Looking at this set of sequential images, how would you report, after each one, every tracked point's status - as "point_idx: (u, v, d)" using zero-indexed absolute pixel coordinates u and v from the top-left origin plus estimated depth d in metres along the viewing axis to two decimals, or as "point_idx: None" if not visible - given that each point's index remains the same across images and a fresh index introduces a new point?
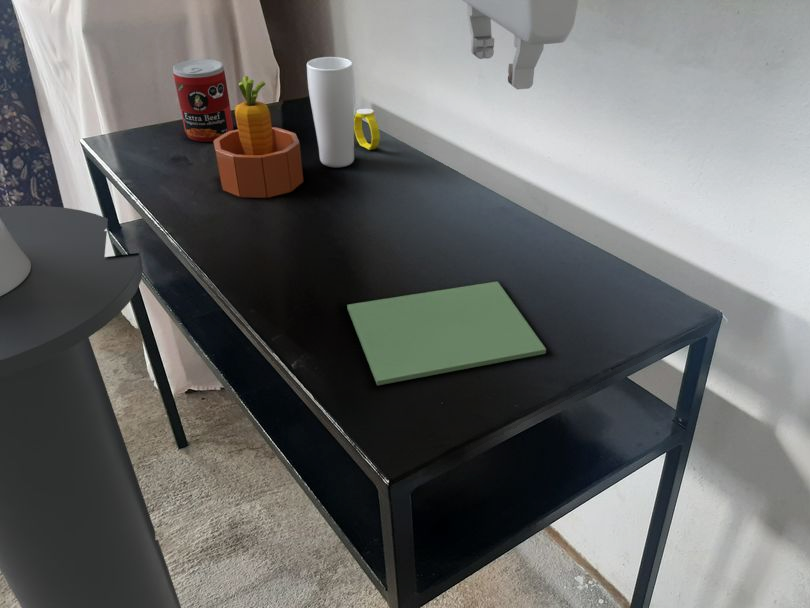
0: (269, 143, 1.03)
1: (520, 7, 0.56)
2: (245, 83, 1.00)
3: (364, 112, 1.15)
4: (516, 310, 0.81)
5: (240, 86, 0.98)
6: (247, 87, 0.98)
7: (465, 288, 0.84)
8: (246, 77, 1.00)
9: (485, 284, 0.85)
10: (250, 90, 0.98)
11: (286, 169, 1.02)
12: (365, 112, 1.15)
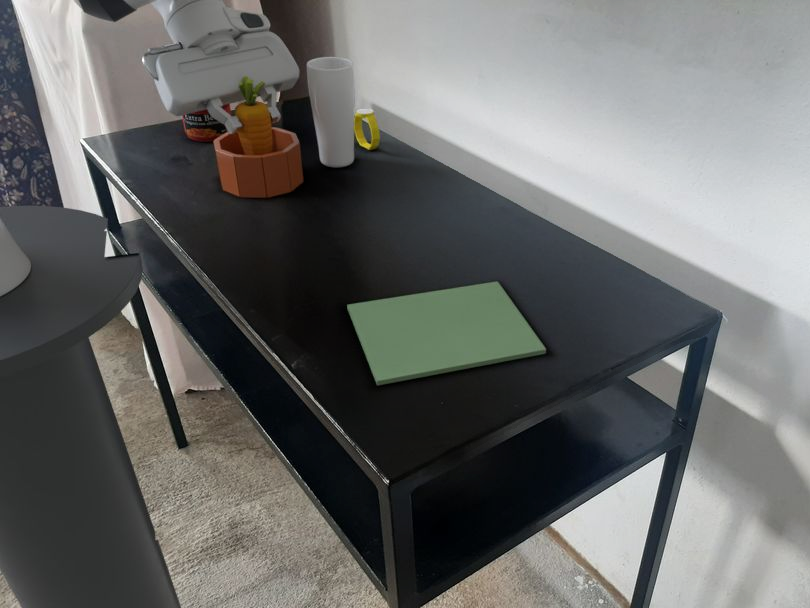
0: (269, 143, 1.03)
1: (282, 63, 1.05)
2: (245, 83, 1.00)
3: (364, 112, 1.15)
4: (516, 310, 0.81)
5: (240, 86, 0.98)
6: (247, 87, 0.98)
7: (465, 288, 0.84)
8: (246, 77, 1.00)
9: (485, 284, 0.85)
10: (250, 90, 0.98)
11: (286, 169, 1.02)
12: (365, 112, 1.15)
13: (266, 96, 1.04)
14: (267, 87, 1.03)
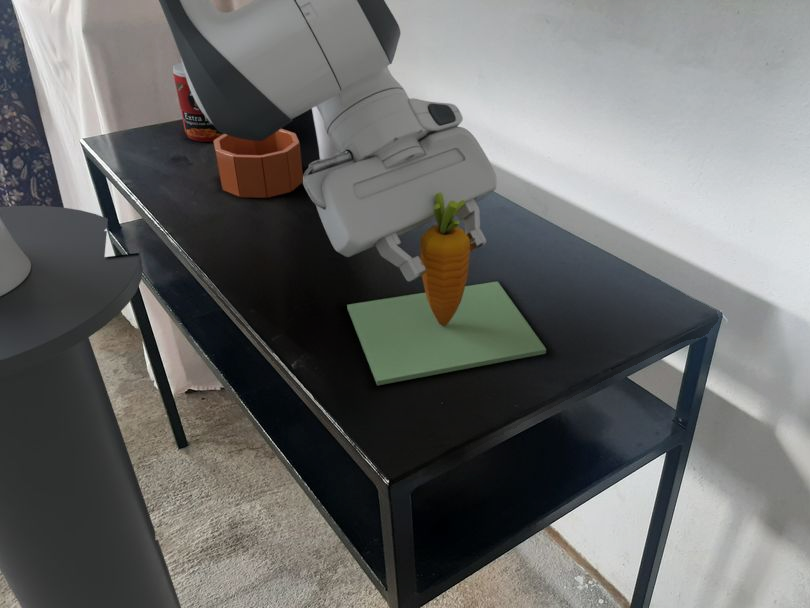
0: (464, 281, 0.74)
1: (477, 170, 0.76)
2: (439, 203, 0.71)
3: None
4: (516, 310, 0.81)
5: (436, 210, 0.69)
6: (447, 212, 0.69)
7: (465, 288, 0.84)
8: (440, 194, 0.71)
9: (485, 284, 0.85)
10: (450, 216, 0.69)
11: (286, 169, 1.02)
12: None
13: (466, 214, 0.75)
14: (468, 202, 0.75)
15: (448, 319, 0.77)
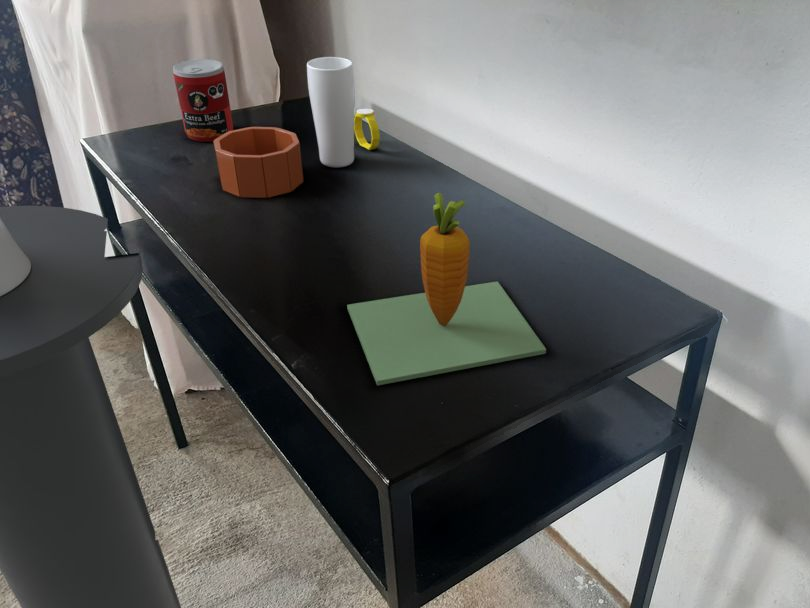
0: (464, 281, 0.74)
1: None
2: (438, 203, 0.71)
3: (364, 112, 1.15)
4: (516, 310, 0.81)
5: (436, 210, 0.69)
6: (447, 212, 0.69)
7: (465, 288, 0.84)
8: (440, 194, 0.71)
9: (485, 284, 0.85)
10: (450, 216, 0.69)
11: (286, 169, 1.02)
12: (365, 112, 1.15)
13: None
14: None
15: (448, 319, 0.77)
